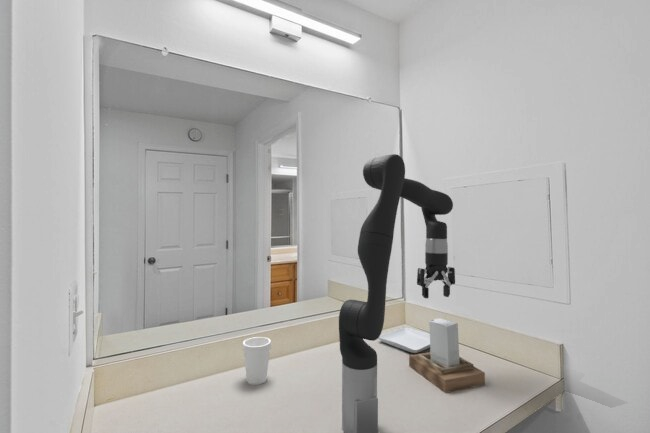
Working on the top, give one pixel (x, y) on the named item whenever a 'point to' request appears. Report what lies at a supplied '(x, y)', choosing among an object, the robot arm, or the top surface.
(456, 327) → the skincare box
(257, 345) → the foam cup
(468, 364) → the block
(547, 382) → the top surface
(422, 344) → the salad plate
